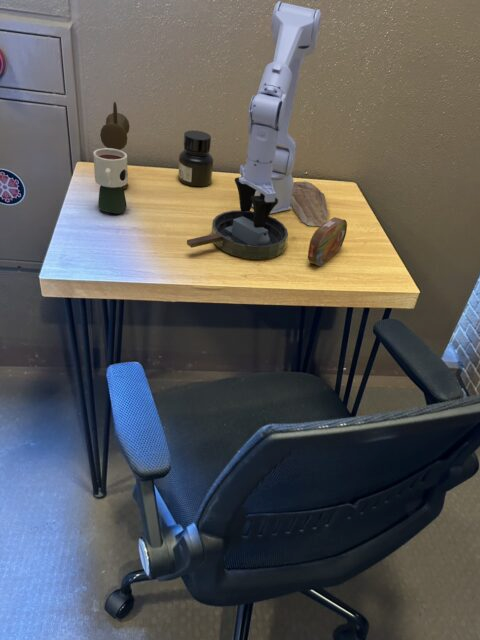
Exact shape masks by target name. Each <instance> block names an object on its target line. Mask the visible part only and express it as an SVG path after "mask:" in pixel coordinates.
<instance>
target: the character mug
mask: <svg viewBox="0 0 480 640" xmlns="http://www.w3.org/2000/svg"><path fill="white" fill-rule="evenodd" d="M92 154H93V171H94V181H95V183H96V184H97V185H99V189H98V190H99V191H98V201H97V202H98V204H97V208H98V209H99V210H100V211H102V212H106V213H110V214H122V213H123V214H124V212H126V211H127V199H126V194H125V189H123V187H122V186H124V185H126V184H127V182H129V180H128V179H129V178H128V177H129V171H128V154H127V153H126V152H125V151H123V150H122V149H121V150H118V149H113V148H107V147H103V148H102V147H101V148H97V149H95V150H94V151H93V153H92Z"/></svg>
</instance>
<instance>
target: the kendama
mask: <svg viewBox="0 0 480 640" xmlns="http://www.w3.org/2000/svg"><path fill="white" fill-rule="evenodd" d="M112 105H113V106H112V113H110V114H108V115H107V117H106V118H105V124H104V125H103V126H102V127H101V129H100V134H99V136H100V141H101V142H102V145H103V146H104V147H105V148H113V149H118V150H121V151H122V149H125V147H126V146H127V144H128V133H129V132H130V122H129V119H128V118H127V116H125V114H122V113H119V112H118V106H117V102H116V101H114V102H113V103H112ZM128 182H129V181H128ZM128 182H127V184H126V185H124V186H122V187H123V189H124V190H125V189H127V188H128V187H129V183H128Z"/></svg>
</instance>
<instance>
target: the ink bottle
mask: <svg viewBox="0 0 480 640" xmlns="http://www.w3.org/2000/svg"><path fill="white" fill-rule="evenodd" d="M211 143H212V136H211V135H210V134H209V133H207V132H204V131H202V130H187V131H185V132H184V134H183V150H182V151H181V152H180V153H179V155H178V180H179V182H181V183H182V184H183V185H186V186H189V187H207V186H209V185H210V184H211V183H212V178H213V165H214V158H213V156H212V155H211V153H210V151H211Z"/></svg>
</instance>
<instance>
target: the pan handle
mask: <svg viewBox="0 0 480 640" xmlns="http://www.w3.org/2000/svg"><path fill="white" fill-rule="evenodd" d="M218 241H222V236H221V235H220V234H218V233H215V234H212V233H211V234H206V235H203V236H199V237H194V238H189V239H186V245H187V246H189V248H191V249H192V248H197V247H202V246H205V245H209V244H214V242H218Z"/></svg>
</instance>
